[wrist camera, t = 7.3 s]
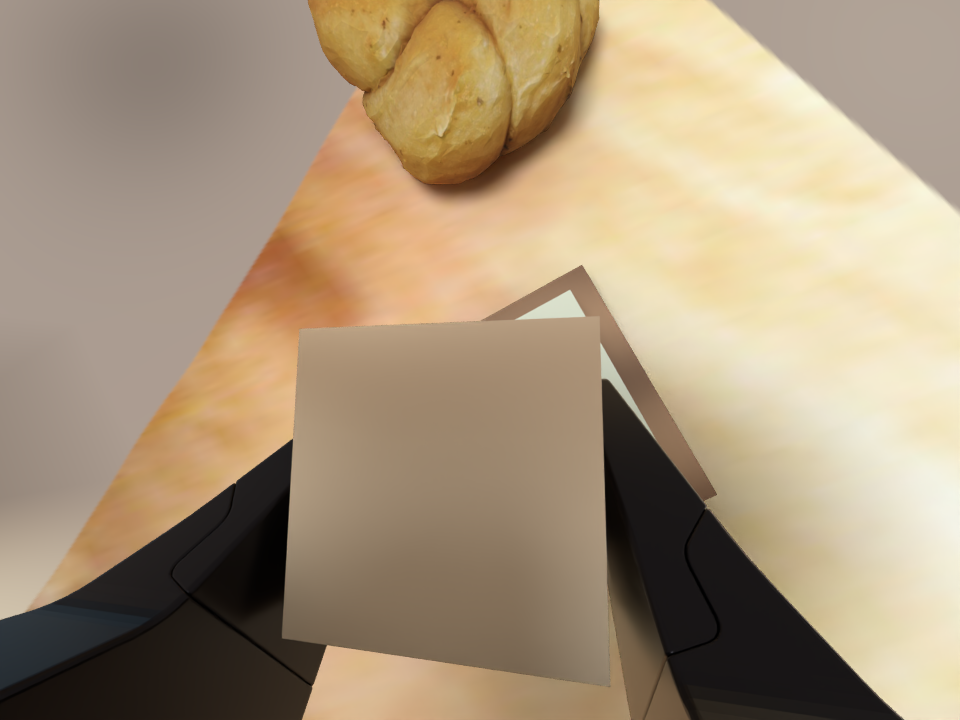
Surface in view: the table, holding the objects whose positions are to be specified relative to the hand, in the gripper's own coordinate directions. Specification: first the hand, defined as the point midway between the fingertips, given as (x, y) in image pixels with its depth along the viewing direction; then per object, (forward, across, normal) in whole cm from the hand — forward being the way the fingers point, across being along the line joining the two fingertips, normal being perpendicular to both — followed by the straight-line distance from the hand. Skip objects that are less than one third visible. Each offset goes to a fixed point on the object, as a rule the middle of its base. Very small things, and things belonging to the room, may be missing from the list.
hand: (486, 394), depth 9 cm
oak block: (+4, 0, +6) cm, 7 cm away
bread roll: (+20, +2, -3) cm, 20 cm away
